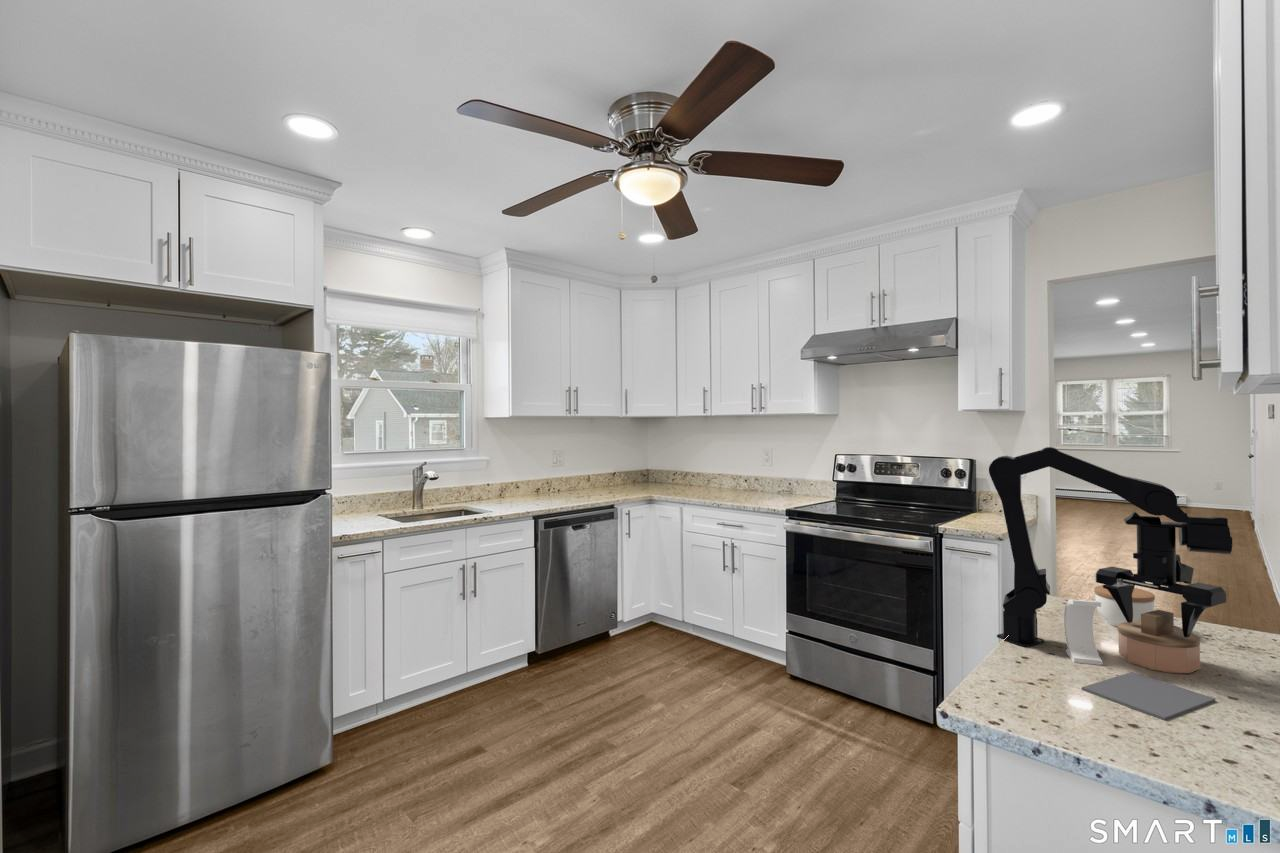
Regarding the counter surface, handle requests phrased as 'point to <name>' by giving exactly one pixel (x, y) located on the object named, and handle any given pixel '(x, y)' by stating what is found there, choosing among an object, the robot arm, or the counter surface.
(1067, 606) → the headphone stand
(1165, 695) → the mat
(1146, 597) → the lidded jar
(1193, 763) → the counter surface
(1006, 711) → the counter surface
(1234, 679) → the counter surface
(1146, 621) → the lid
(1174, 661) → the bowl
